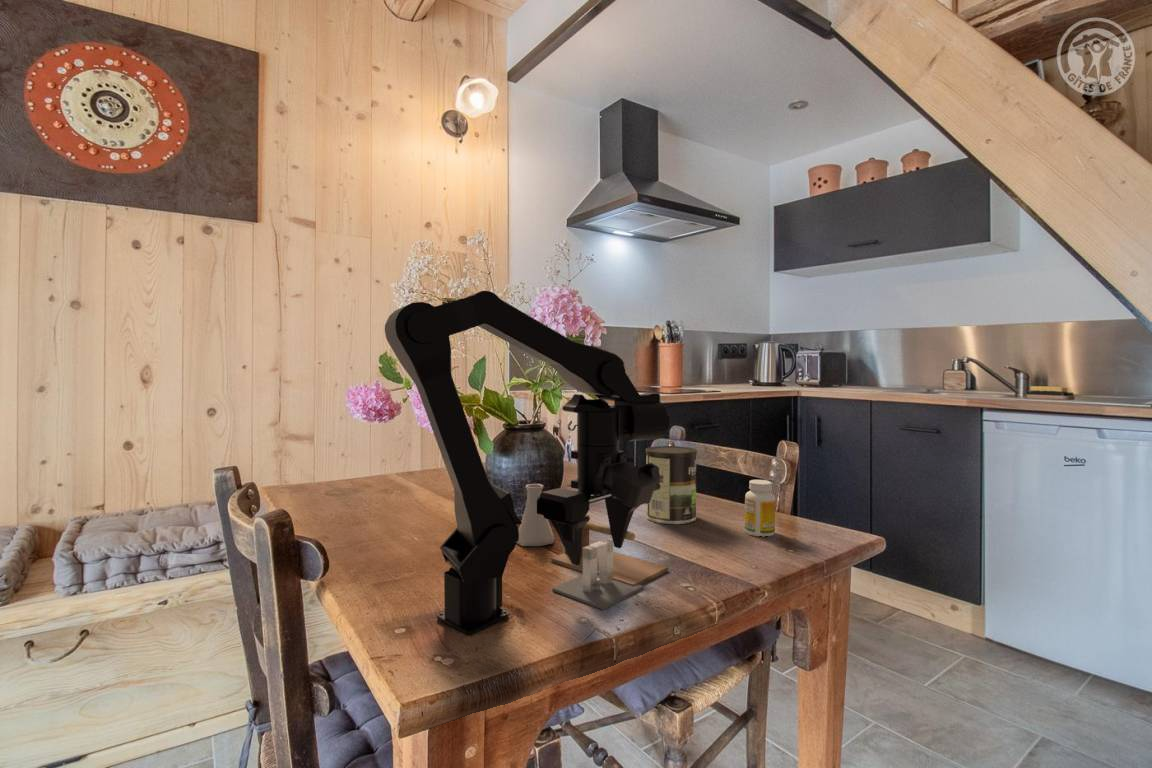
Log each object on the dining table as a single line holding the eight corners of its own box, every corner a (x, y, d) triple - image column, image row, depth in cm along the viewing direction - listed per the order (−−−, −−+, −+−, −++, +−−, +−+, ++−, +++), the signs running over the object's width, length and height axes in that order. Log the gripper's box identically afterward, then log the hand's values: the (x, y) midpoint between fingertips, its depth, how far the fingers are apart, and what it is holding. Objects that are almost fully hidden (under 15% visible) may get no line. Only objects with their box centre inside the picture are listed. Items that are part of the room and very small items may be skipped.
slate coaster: (602, 609, 71) (602, 606, 71) (552, 590, 77) (552, 588, 77) (643, 588, 78) (643, 585, 78) (593, 572, 84) (593, 569, 84)
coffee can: (698, 512, 117) (698, 446, 116) (694, 526, 107) (694, 454, 107) (649, 509, 120) (649, 444, 119) (641, 522, 110) (641, 451, 109)
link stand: (633, 588, 77) (633, 540, 77) (551, 561, 88) (551, 519, 88) (668, 570, 84) (668, 526, 84) (588, 547, 95) (588, 508, 95)
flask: (518, 549, 94) (517, 491, 94) (511, 537, 101) (510, 482, 101) (559, 546, 96) (559, 488, 96) (549, 533, 103) (549, 480, 103)
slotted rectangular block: (590, 593, 75) (590, 549, 75) (582, 591, 76) (582, 547, 76) (613, 582, 79) (613, 541, 78) (605, 580, 79) (605, 538, 79)
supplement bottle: (742, 535, 102) (742, 483, 101) (747, 527, 107) (747, 477, 106) (773, 539, 99) (773, 485, 99) (776, 531, 104) (777, 480, 104)
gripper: (600, 459, 64) (600, 592, 65) (684, 442, 78) (683, 551, 79) (533, 449, 72) (533, 568, 72) (620, 435, 85) (620, 535, 86)
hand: (597, 555), depth 77 cm, fingers open, 9 cm apart
